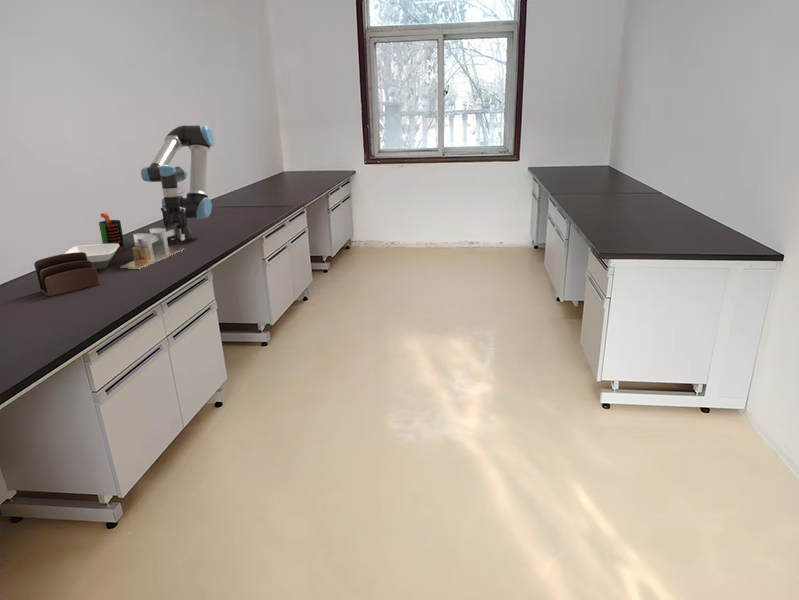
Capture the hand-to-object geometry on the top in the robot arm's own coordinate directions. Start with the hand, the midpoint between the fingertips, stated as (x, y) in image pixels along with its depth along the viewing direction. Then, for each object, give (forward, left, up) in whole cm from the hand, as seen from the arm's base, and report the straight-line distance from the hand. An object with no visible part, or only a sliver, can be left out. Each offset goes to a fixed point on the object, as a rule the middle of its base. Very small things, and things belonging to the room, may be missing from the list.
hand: (178, 239), depth 287 cm
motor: (-31, -12, -5) cm, 34 cm away
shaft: (0, -12, +1) cm, 12 cm away
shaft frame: (0, -21, -5) cm, 22 cm away
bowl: (-19, -39, -5) cm, 44 cm away
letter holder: (-6, -68, -5) cm, 69 cm away
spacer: (0, -30, -4) cm, 30 cm away
